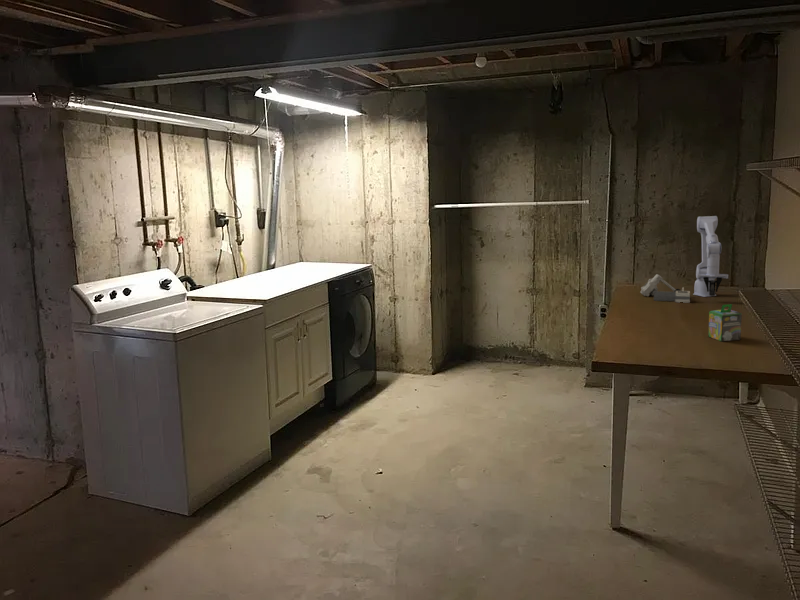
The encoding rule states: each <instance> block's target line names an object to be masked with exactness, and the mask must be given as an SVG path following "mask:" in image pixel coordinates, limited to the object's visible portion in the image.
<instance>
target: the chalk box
mask: <svg viewBox="0 0 800 600" xmlns="http://www.w3.org/2000/svg"><path fill="white" fill-rule="evenodd" d="M727 307H728V308H727ZM732 307H733V303H728V304H727V303H726V304H722V305H721V309H715V310H710V311H708V338H712V339H713V340H716V341H719V342H732V341H733V342H734V341H740V340H741V335H742V317H743V313H742V312H739V311H735V310H732Z"/></svg>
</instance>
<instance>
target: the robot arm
mask: <svg viewBox="0 0 800 600" xmlns="http://www.w3.org/2000/svg"><path fill="white" fill-rule="evenodd" d="M718 222H719V219H718V216H717V215H712V216H710V215H707V216H705V215H704V216H697V219H696V230H697V233H700V236H701V262H700V263H698V264H697V265H696V270H695V277H696V280H695V282H694V288H693V290H694V291H693V292H694V293H692V295H694V296H697V297H698V296H699V297H703V298H707V297H712V296H711V295H709V285H710V282H709V280H716V281H717V282H716V283H715V293H717V292H718V291H719V287H720V284H721V283H722V281H723V279H729V274H727V273H720V255H721V254H722V243H721V242H719V237H718V235H717V234H716V233H715V232H716V230H717V227H718V224H719V223H718ZM715 296H717V294H715V295H714V296H713V297H715Z"/></svg>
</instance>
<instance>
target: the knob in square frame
mask: <svg viewBox="0 0 800 600" xmlns="http://www.w3.org/2000/svg"><path fill="white" fill-rule="evenodd" d="M653 301H655V302H662V301H663V302H674V303H680V302H683V303H684V304H685V303H686V304H687V303H688V304H690V302H691V291H690V290H685V287H684V286H683V287H681V291H676V292H674V291H663V290H662V291H661V290H659V291H654V295H653Z"/></svg>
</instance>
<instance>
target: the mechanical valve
mask: <svg viewBox="0 0 800 600" xmlns="http://www.w3.org/2000/svg"><path fill="white" fill-rule="evenodd" d="M660 282H662V283H663V284H664V285H665V286H667V287H668V288H669V289H670V290H672V292H676V291H682V289H680V288H675V287H673V286H672V285H671V284H670V283H668V282H667V281H666V280H665V279H664V278H663V277H662V276H661V275H660V274H658V273H656V274H655V275H654V277H652V278H649V279H648V280H647V282H645V284H644V285H643V286H641V287H640V289H641V290H640V292H639V293H640V294H641V295H643V296H644V297H649V296H651V297H654V291H658V290H659V288H658V286H657V285H658V284H660Z"/></svg>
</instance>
